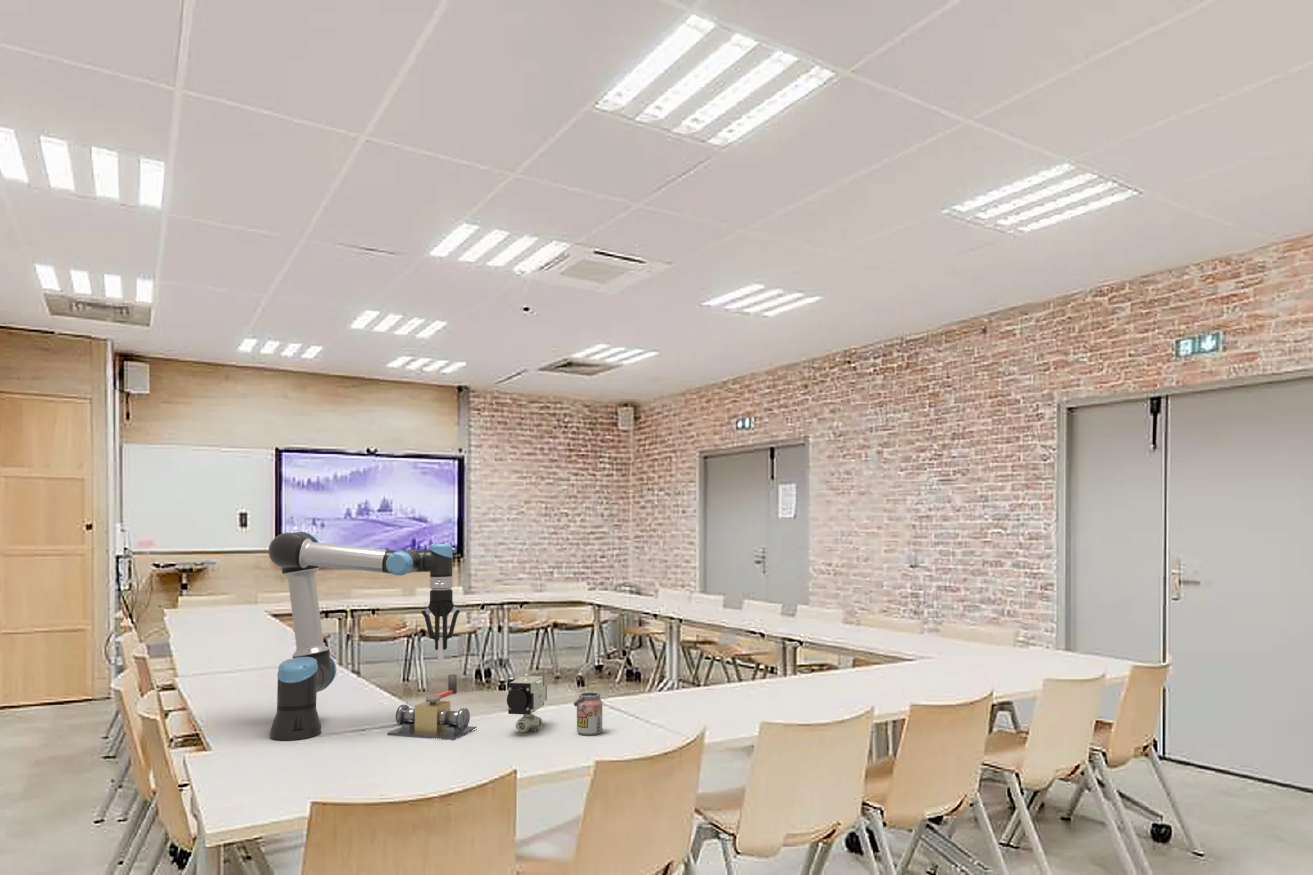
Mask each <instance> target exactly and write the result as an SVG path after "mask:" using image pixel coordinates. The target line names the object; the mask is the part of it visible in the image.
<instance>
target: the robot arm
mask: <svg viewBox="0 0 1313 875" xmlns="http://www.w3.org/2000/svg"><path fill="white" fill-rule="evenodd" d="M268 556H269V559H270V560H271V562H272V563H273V564H274V565H276V566H277V567H280V568H281V573H282V576H283V577H285V578H286V579H287V583H288V591H289V598H290V606H291V607H290V608H291V614H292V616H291V617H292V622H293V629H294V637H295V638H294V639H295V646H296V650H295V652H294V653H293V654H292V657H291V658H289V659H285V660H284V661H282V662H281V663H280V664H279V666H278V671H277V687H276V688H277V693H276V694H277V695H276V713H275V715H274V716H275V717H274V719H273V722H272V725H271V728H270V732H269V738H270V739H272V740H275V741H296V740H304V739H310V738H313V737H316V736H319V735H320V734H321V733H322V723H321V721H320V716H319V713H318V709H317V695H318V694H317V693H318V692H321V691H324V690H325V689H327V688H328V687H329V686H330V685H331V684H332V682H333V681H334V679H335V678H336V675H337V666H336V661H334V658H332V657H331V654H330V648H329V647H328V646H326V645H325V644H324V637H323V628H322V622H321V621H322V620H321V614H320V613H321V612H320V603H319V597H318V595H319V594H318V587H317V582H316V573H317V572H318V571H319V569H320V568H319V567H321V568H322V567H323V568H332V569H343V570H345V569H346V570H353V571H354V570H355V571H362V572H372V573H373V572H374V573H381V574H382V573H383V574H391V575H394V576H405V575H407V574H411V573H428V572H429V588H430V591H429V603H428V606H427V608H425V609H423V610H421V615H422V616H423V618H424V621H425V624H426V629H427V633H428V637H429V639H431V640H434V650H435V651H437V661H444V659H445V650H447V649H448V640H449V639H451V638H452V637H453V635H454V631H455V627H456V623H457V619H458V616H459V614H460V612H461V609H460V608H457V607H455V604H454V601H453V596H454V595H453V593H454V592H453V583H454V581H453V580H454V578H453V566H454V564H453V563H454V562H453V561H454V559H453V558H454V556H453V545H451V544H450V543H432V544H430V546H429V549H402V550H393V549H392V550H391V549H383V548H382V549H380V548H372V547H362V546H354V545H343V544H342V545H341V544H336V543H326V542H325V543H324V542H320V541H319V539H318V538H317V537H316V536H315V535H313V534H311V533H308V532H304V531H296V532H284V533H281V534H278V535H277V536H275V537H274V538H273V539H272V540H271V542H270V544H269V547H268ZM451 612H452V614H453V615H452V619H451V623H450V625H449V626H450V627H449V631H448V617H449V615H450V613H451ZM431 613H432V615H433V616H434V629H433V625H432V619H431V616H430V614H431ZM441 617H442V639H441V637H440V635H441V634H440V632H441V631H440V629H441V628H440V627H441V625H440V622H441Z"/></svg>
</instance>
